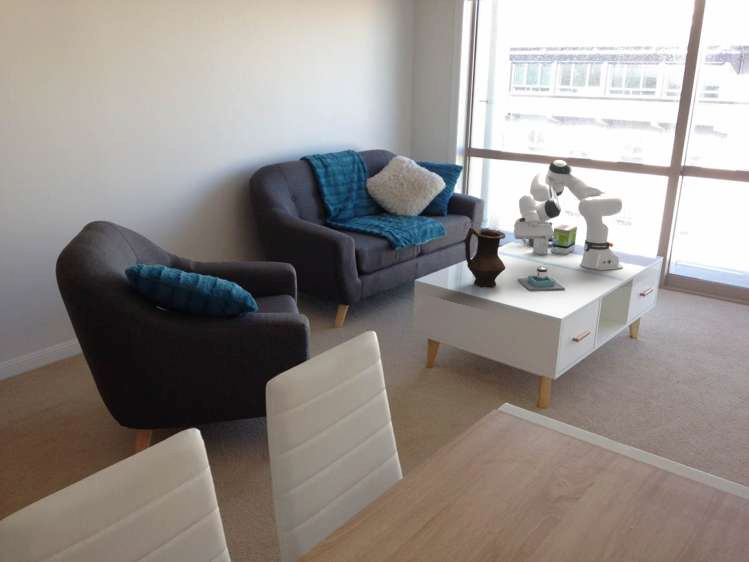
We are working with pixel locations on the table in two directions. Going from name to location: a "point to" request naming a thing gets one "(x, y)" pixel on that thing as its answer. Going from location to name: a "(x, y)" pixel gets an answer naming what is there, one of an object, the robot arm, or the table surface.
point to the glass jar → (541, 274)
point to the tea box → (564, 239)
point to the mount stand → (540, 284)
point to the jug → (485, 256)
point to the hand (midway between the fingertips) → (536, 245)
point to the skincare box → (540, 246)
